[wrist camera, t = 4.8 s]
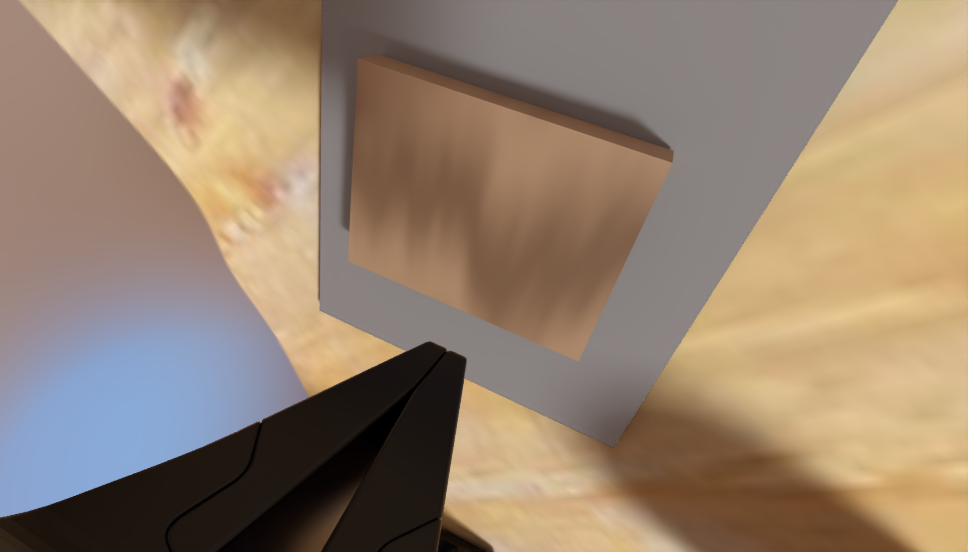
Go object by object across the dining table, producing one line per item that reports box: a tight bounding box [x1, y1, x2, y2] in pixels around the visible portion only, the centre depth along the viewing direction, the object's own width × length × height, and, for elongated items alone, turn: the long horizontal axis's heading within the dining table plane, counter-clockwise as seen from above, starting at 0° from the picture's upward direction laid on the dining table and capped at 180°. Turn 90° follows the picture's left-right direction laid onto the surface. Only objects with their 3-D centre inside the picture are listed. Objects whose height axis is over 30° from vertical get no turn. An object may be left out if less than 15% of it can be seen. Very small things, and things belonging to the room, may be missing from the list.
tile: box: [348, 55, 674, 361], centre depth 14 cm, size 7×1×9 cm
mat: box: [320, 0, 898, 448], centre depth 15 cm, size 16×14×1 cm
